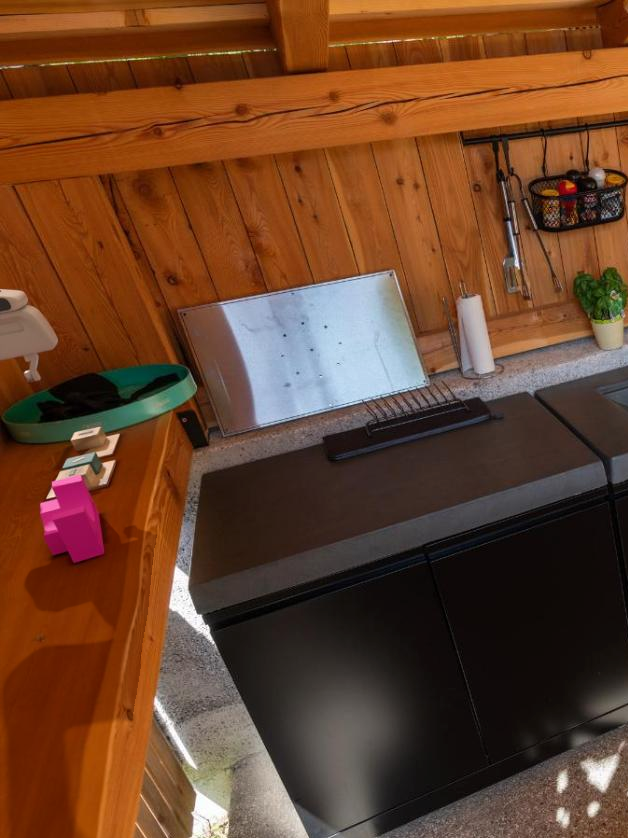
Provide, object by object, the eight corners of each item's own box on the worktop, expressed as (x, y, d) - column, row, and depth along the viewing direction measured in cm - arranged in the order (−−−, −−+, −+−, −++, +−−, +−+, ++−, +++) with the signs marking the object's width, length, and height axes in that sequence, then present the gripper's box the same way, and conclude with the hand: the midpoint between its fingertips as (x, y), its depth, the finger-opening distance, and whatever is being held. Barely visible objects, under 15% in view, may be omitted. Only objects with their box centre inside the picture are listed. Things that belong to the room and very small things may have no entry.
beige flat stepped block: (57, 469, 144) (49, 454, 142) (68, 448, 152) (61, 434, 151) (113, 456, 147) (106, 441, 145) (121, 436, 156) (114, 422, 154)
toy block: (52, 527, 122) (32, 486, 119) (99, 514, 126) (80, 474, 122) (53, 569, 112) (30, 526, 108) (104, 553, 115) (84, 511, 112)
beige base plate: (47, 501, 132) (38, 486, 131) (60, 476, 141) (51, 461, 139) (108, 486, 135) (99, 470, 134) (116, 462, 144) (109, 447, 143)
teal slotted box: (68, 480, 137) (61, 467, 136) (73, 470, 141) (66, 458, 140) (97, 473, 139) (91, 460, 138) (101, 463, 143) (95, 451, 141)
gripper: (-140, 326, 113) (-86, 411, 119) (27, 296, 121) (69, 377, 128) (-124, 318, 118) (-74, 400, 124) (35, 289, 126) (75, 368, 133)
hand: (0, 388), depth 126 cm, fingers open, 8 cm apart
